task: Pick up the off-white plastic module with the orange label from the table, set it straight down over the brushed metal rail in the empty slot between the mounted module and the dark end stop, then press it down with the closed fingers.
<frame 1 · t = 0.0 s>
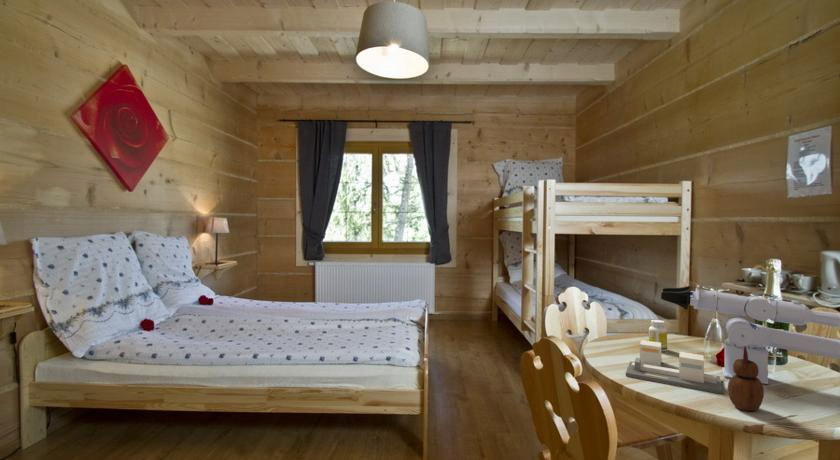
hand: (661, 293, 123), 22 cm above the table, tool horizontal, fingers open, 7 cm apart
module: (650, 362, 124), on the table
wooden figurine: (745, 408, 94), on the table
supplement bottle: (657, 350, 137), on the table
rail: (672, 377, 112), on the table
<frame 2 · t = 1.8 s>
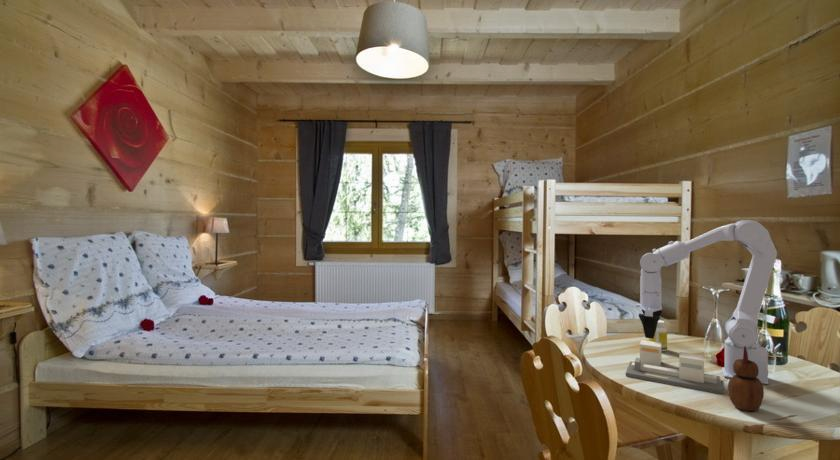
hand: (650, 335, 124), 9 cm above the table, tool pointing down, fingers open, 7 cm apart
nothing on the table moved.
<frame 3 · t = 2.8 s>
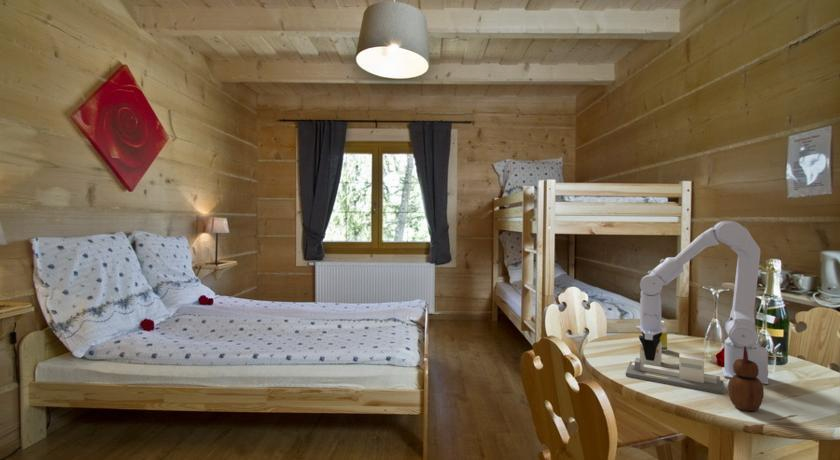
hand: (650, 357, 124), 2 cm above the table, tool pointing down, fingers closed on module, 5 cm apart
module: (650, 362, 124), on the table, touching gripper
everything else where it was.
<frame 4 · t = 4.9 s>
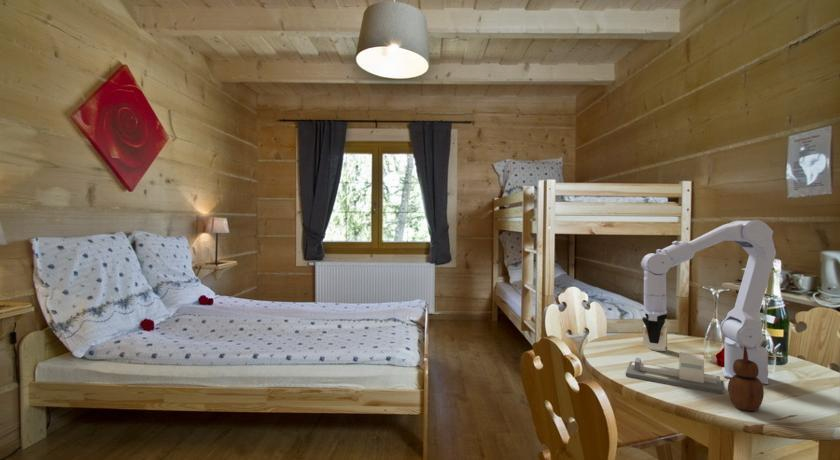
hand: (654, 340, 118), 9 cm above the table, tool pointing down, fingers closed on module, 5 cm apart
module: (654, 346, 118), point 7 cm above the table, touching gripper
everything else where it was.
when the fingers open (4 cm above the table, at t = 6.7 s): module drops 1 cm, resting on rail.
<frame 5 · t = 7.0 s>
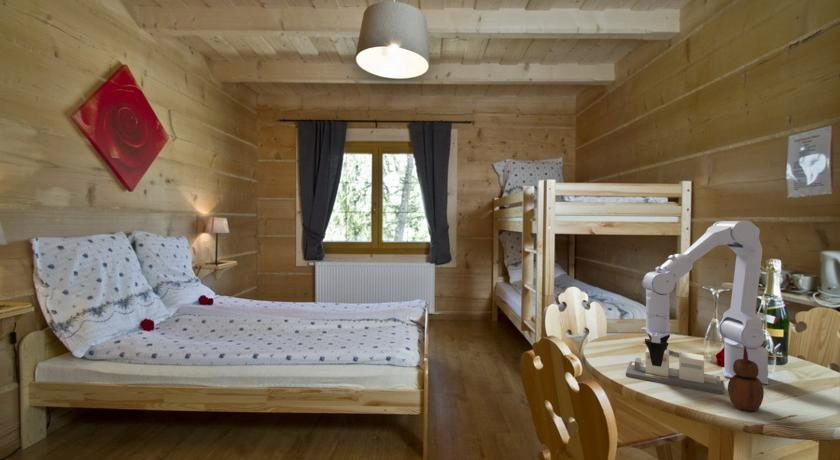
hand: (657, 361, 114), 4 cm above the table, tool pointing down, fingers open, 7 cm apart
module: (657, 371, 114), point 1 cm above the table, touching rail
everything else where it was.
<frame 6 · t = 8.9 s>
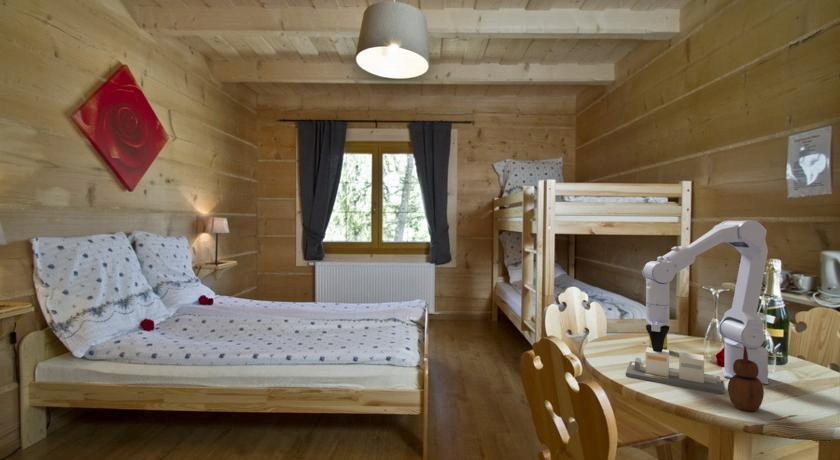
hand: (657, 351, 114), 7 cm above the table, tool pointing down, fingers closed, pressing on module
module: (657, 371, 114), point 1 cm above the table, touching gripper, rail
everything else where it was.
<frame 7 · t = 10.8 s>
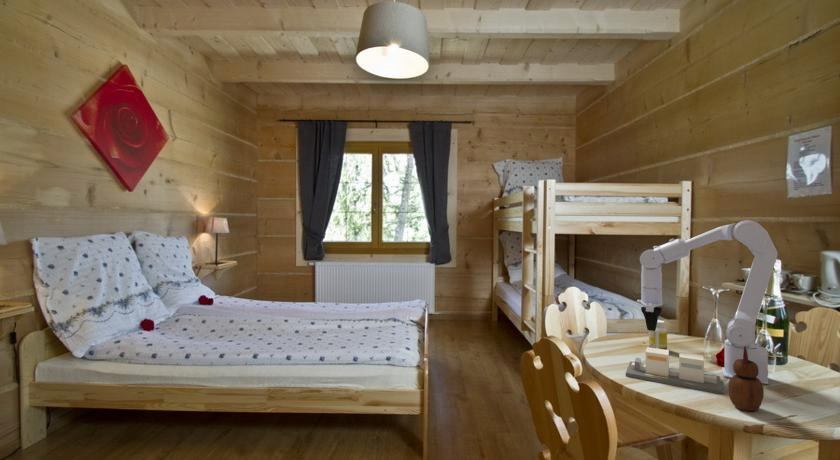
hand: (651, 330, 127), 9 cm above the table, tool pointing down, fingers closed
module: (657, 371, 114), point 1 cm above the table, touching rail
everything else where it was.
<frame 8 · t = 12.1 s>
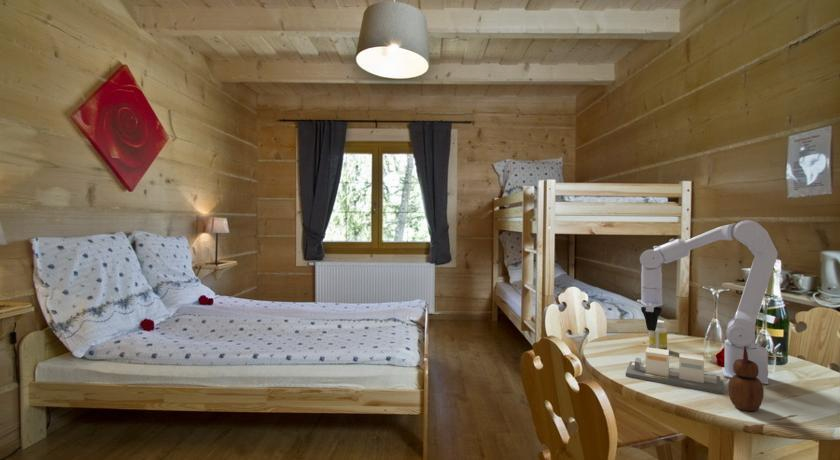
hand: (651, 330, 127), 9 cm above the table, tool pointing down, fingers closed
nothing on the table moved.
at the end: module 0.1 cm from the target spot on the rail, point 1.0 cm above the rail's base; module tilted 0°; the gripper is holding nothing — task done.
